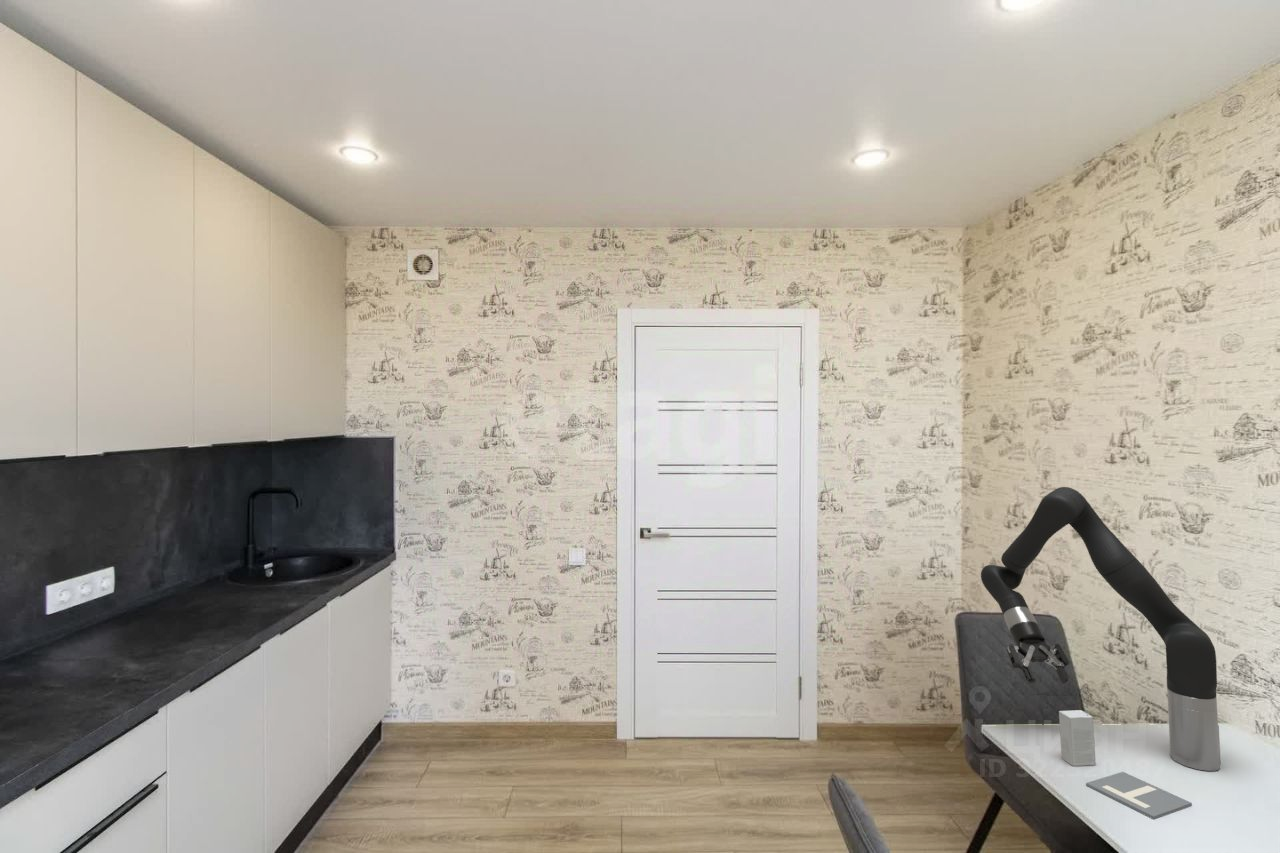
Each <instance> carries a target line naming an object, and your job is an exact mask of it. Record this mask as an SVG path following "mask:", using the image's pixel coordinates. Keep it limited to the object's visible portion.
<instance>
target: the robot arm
mask: <svg viewBox="0 0 1280 853" xmlns="http://www.w3.org/2000/svg"><path fill="white" fill-rule="evenodd" d="M1067 525H1070V527H1071V528H1072V529H1074V531H1075V532H1076V533H1077V534H1078V536H1080V538H1081V540H1082V542H1083V543H1084V545H1085V547H1086V550H1087V551H1088V552H1087V553H1088V555H1089V557H1090V560H1091V562H1092V564H1093V566H1094V567H1095V569H1096V571H1097V572H1098V573H1099V574H1100V575H1101V577H1102V578H1103V579H1104V580H1105V581H1106V583H1107V584H1108V585H1109V586H1110V587H1111V588H1112V589H1113V590H1114V591H1115V592H1116V593H1117V594H1118V595H1119V596H1121V598H1122V599H1124V600H1125V601H1126V602H1127V603H1128V604H1129V605H1131V606H1132V607H1133V608H1135V609H1136V610H1137V611H1138V612H1139V613H1141V615H1142V616H1143V617H1144V618H1145V619H1146V620H1147V621H1148V622H1149V624H1151V626H1152V627H1153V629H1154V630H1155V631H1156V633H1157V634H1158V635H1159V637H1160V638H1161V640H1162V642H1163V643H1164V645H1165V656H1166V659H1165V660H1166V691H1167V708H1168V709H1167V712H1168V732H1169V753H1170V758H1171V759H1172V760H1173V761H1175V762H1176V763H1178V764H1181V765H1183V766H1184V767H1187V768H1188V767H1189V768H1192V769H1196V770H1201V771H1207V772H1215V771H1219V770H1220V769H1221V762H1222V760H1221V743H1220V726H1219V721H1218V717H1219V716H1218V704H1217V703H1218V702H1217V688H1218V679H1217V678H1218V674H1217V671H1218V670H1217V656H1216V655H1217V654H1216V649H1215V645H1214V644H1213V641H1212V640H1211V638H1210V637H1209V634H1207V633H1206V632H1205V631H1204V630H1203V629H1202V628H1200V627H1199V626H1198V625H1197V624H1196V623H1195V622H1194V621H1192V620H1191V619H1190V618H1189V617H1188V616H1187V615H1186V614H1185V613H1184V612H1183V611H1182V610H1181V609H1180V608H1178V606H1176V605H1175V603H1174V602H1173V601H1172V600H1171V598H1170V597H1169V596H1168V595H1167V594H1166V592H1165V591H1164V589H1163V588H1162V587H1161V586H1160V584H1159V582H1158V581H1156V579H1155V578H1154V576H1153V575H1152V574H1151V573H1150V572H1149V571H1148V569H1146V567H1145V565H1143V563H1141V562H1140V561H1139V559H1138V558H1137V557H1136V556H1135V555H1134V554H1133V553H1132V552H1130V550H1129V549H1128V548H1127V547H1126V546H1125V545H1124V544H1123V543H1122V542H1121V540H1120V539H1119V538H1118V537H1117V536H1116V534H1114V532H1112V531H1111V529H1109V527H1108V526H1107V525H1106V524H1105V523H1104V521H1103V520H1102V519H1101V518H1100V517H1099V514H1098V513H1096V511H1095V510H1094V507H1092V505H1091V504H1090V503H1089V501H1088V500H1087V499H1086V497H1085V496H1083V495H1082V493H1080V492H1079V491H1078V490H1076V489H1075V488H1073V487H1069V486H1060V487H1057V488H1055V489H1054V490H1051V492H1049V493H1047V494H1046V495H1045V496H1043V498H1042V499H1041V501H1039V504H1038V506H1037V508H1036V509H1035V512H1034V513H1033V515H1032V517H1031V519H1030V521H1029V522H1028V524H1027V525H1026V526H1025V528H1024V529H1023V530H1022V531H1021V533H1020V534H1019V535H1017V537H1016V538H1015V539H1014V540H1013V541H1012V543H1011V544H1010V545H1009V546H1008V547H1007V548H1006V549H1005V551H1004V552H1003V553H1002V555H1001V557H1000V558H1001V559H1000V560H1001V562H1002V564H1003V566H1001V565H993V564H988V565H985V566H984V567H982V569H981V572H980V578H981V582H982V584H983V586H984V588H985V589H986V590H987V591H988V593H989V594H990V596H991V597H992V598H993V599H994V601H995V602H997V603H998V606H999V609H1000V611H1001V613H1002V615H1003V617H1004V620H1005V624H1006V626H1007V629H1008V631H1009V633H1010V635H1011V637H1012V640H1013V641H1014V644H1015V645H1014V644H1012V643H1010V644H1009V645H1008V646H1007V647H1006V652H1007V655H1008V657H1009V658H1008V659H1009V660H1010V663H1011V666H1012V667H1013V668H1014V669H1020V671H1022V673H1023V675H1024V678H1025V680H1026V681H1027V682H1028V683H1029V684H1035V682H1036V678H1035V676H1034V674H1033V671H1032V669H1031V667H1030V666H1029V665H1030V662H1031V663H1037V662H1038V663H1046V665H1048V666H1051V667H1052V668H1054V669H1055V672H1056V674H1057V676H1058V678H1059V680H1060V682H1061V684H1067V683H1068V682H1069V679H1070V677H1069V675H1068V673H1067V671H1066V668H1067V667H1068V665H1070V660H1069V659H1068V657H1067V655H1066V654H1065V652H1064V651H1063V649H1062V647H1061V645H1060V644H1059V643H1055V644H1054V645H1049V644H1048V643H1047V642H1046V639H1045V636H1044V634H1043V632H1042V630H1041V629H1040V626H1039V624H1038V621H1037V620H1036V618H1035V616H1034V615H1033V613H1032V612H1031V610H1030V608H1029V606H1028V604H1027V602H1026V599H1025V597H1024V596H1023V595H1022V594H1021V593H1020V592H1019V591H1017V590H1016V589H1017V588H1018V587H1019V586H1020V585H1021V583H1022V580H1023V578H1024V575H1025V573H1026V570H1027V569H1028V567H1029V566H1030V565H1031V564H1033V562H1034V561H1035V560H1036V558H1037V557H1038V555H1040V553H1041V551H1042V549H1044V546H1045V545H1046V544H1047V542H1048V541H1049V539H1051V538H1052V537H1053V536H1054V535H1055V534H1056V533H1057V532H1059V531H1060V530H1062V529H1063V528H1065V527H1066V526H1067ZM1018 653H1019V654H1020V655H1022V657H1023V658H1022V659H1021V661H1020V658H1019V656H1018Z"/></svg>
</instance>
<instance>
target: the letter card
mask: <svg viewBox="0 0 1280 853" xmlns="http://www.w3.org/2000/svg"><path fill="white" fill-rule="evenodd" d="M1085 786H1086V787H1088V788H1090V789H1092V790H1094V791H1096V792H1097V793H1100V794H1103V795H1104V796H1106V797H1108V798H1110V799H1112V800H1114V801H1116V802H1118V803H1120V804H1122V805H1124V806H1126V807H1128V808H1130V809H1132V810H1134V809H1135V810H1134V811H1136V812H1138V813H1140V812H1141V813H1140V814H1142V813H1143V814H1142V815H1144V814H1145V815H1144V816H1146V815H1147V816H1146V817H1148V816H1149V818H1150V817H1151V818H1150V819H1152V820H1156V819H1159V818H1161V817H1164V816H1167V815H1169V814H1172V813H1175V812H1178V811H1181V810H1183V809H1186V808H1189V807H1192V806H1193V805H1192V802H1191V801H1188V800H1186V799H1184V798H1182V797H1180V796H1177V795H1176V794H1173V793H1172V792H1169V791H1166V790H1164V789H1162V788H1161V787H1158V786H1155V785H1153V784H1151V783H1149V782H1146V781H1145V780H1142V779H1140V778H1138V777H1136V776H1134V775H1131V774H1129V773H1127V772H1125V771H1121V772H1116V773H1114V774H1111V775H1107V776H1105V777H1101V778H1098V779H1097V778H1096V779H1095V780H1092V781H1087V782H1085Z"/></svg>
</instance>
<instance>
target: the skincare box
mask: <svg viewBox="0 0 1280 853" xmlns="http://www.w3.org/2000/svg"><path fill="white" fill-rule="evenodd" d="M1058 718H1059V719H1058V720H1059V734H1060V735H1059V737H1060V738H1059V739H1060V740H1059V741H1060V754H1061V755H1060V756H1061V759H1062V760H1064V761H1065V762H1067V763H1068V764H1069V765H1071V766H1072V767H1081V766H1082V767H1083V766H1096V765H1097V763H1096V761H1097V760H1096V745H1095V731H1094V730H1095V728H1094V727H1095V726H1094V717H1093V716H1092V715H1090V714H1089V713H1087V712H1085V711H1083V710H1081V709H1079V710H1078V709H1075V710H1059V711H1058Z"/></svg>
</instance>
